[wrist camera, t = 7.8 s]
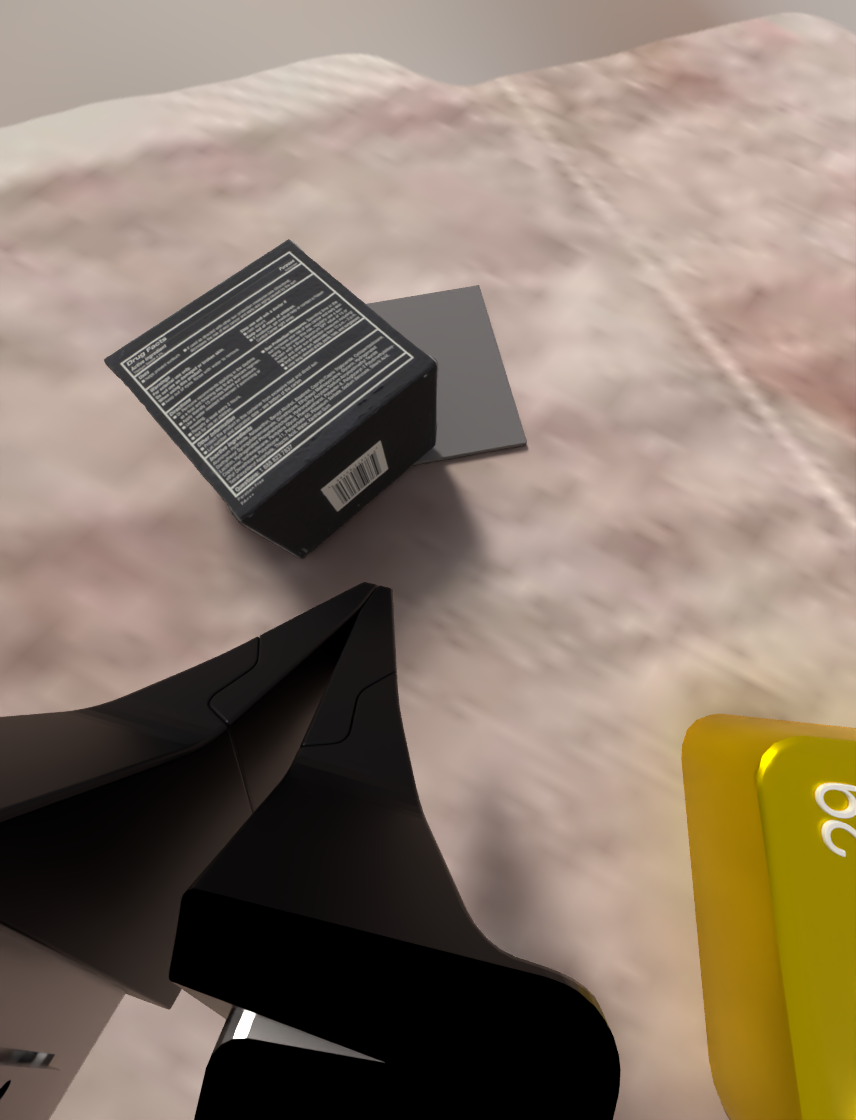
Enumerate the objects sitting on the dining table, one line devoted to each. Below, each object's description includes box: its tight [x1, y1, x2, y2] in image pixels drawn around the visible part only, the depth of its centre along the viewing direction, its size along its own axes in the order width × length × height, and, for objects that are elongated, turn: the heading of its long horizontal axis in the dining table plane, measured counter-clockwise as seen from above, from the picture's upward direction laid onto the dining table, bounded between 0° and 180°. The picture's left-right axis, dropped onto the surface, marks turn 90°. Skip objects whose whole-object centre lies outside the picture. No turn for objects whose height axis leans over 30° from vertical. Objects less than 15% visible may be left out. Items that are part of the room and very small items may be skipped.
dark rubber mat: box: [366, 285, 527, 465], centre depth 21 cm, size 13×16×1 cm
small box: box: [104, 239, 438, 559], centre depth 17 cm, size 11×6×10 cm
